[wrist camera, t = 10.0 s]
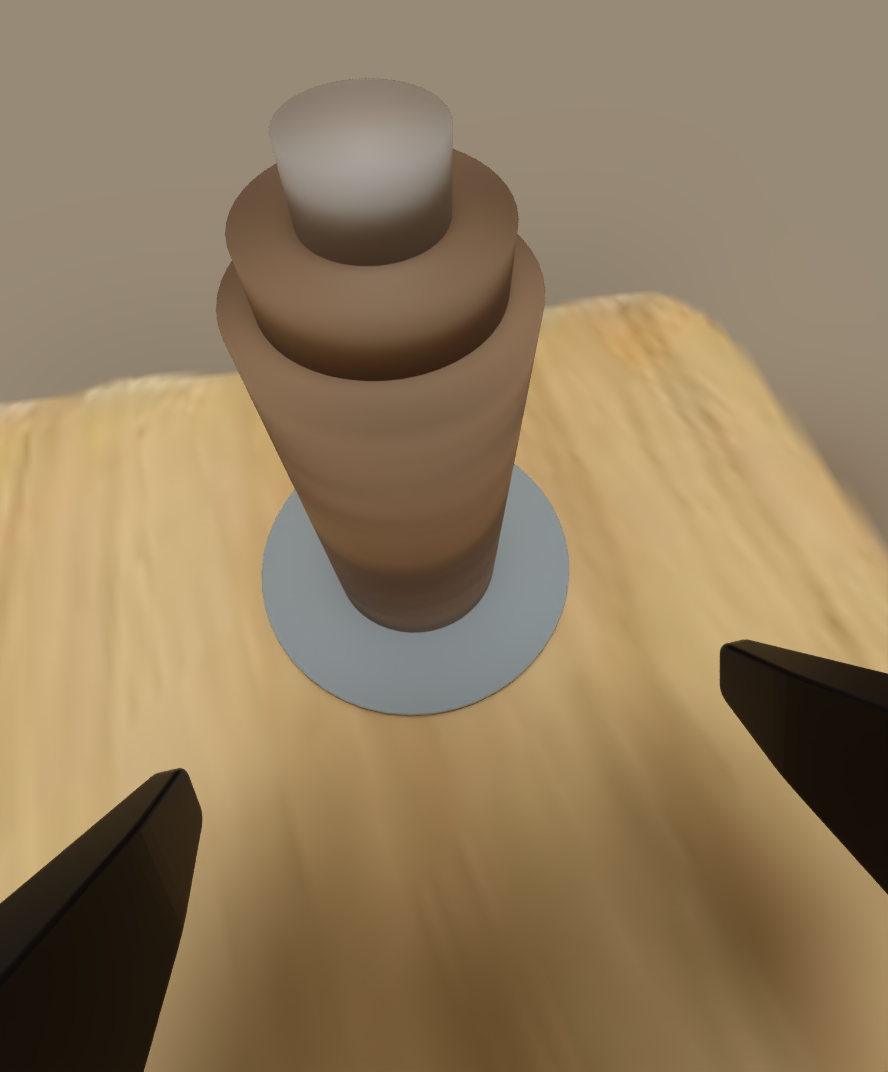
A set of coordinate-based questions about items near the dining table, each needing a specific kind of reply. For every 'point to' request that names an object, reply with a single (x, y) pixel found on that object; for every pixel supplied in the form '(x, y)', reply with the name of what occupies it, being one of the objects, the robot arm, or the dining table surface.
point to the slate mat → (428, 657)
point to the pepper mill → (386, 341)
